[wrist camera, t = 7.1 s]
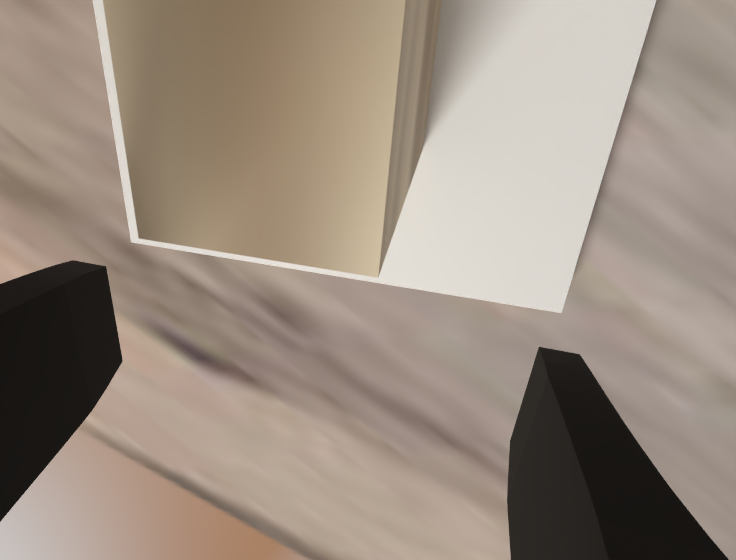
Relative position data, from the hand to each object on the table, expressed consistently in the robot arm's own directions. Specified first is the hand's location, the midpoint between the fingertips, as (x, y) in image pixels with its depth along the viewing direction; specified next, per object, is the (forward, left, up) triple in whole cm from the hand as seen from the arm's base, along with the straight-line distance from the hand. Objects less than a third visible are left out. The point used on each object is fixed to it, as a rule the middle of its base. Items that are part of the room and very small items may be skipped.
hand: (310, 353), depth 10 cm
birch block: (+1, -3, -8) cm, 9 cm away
